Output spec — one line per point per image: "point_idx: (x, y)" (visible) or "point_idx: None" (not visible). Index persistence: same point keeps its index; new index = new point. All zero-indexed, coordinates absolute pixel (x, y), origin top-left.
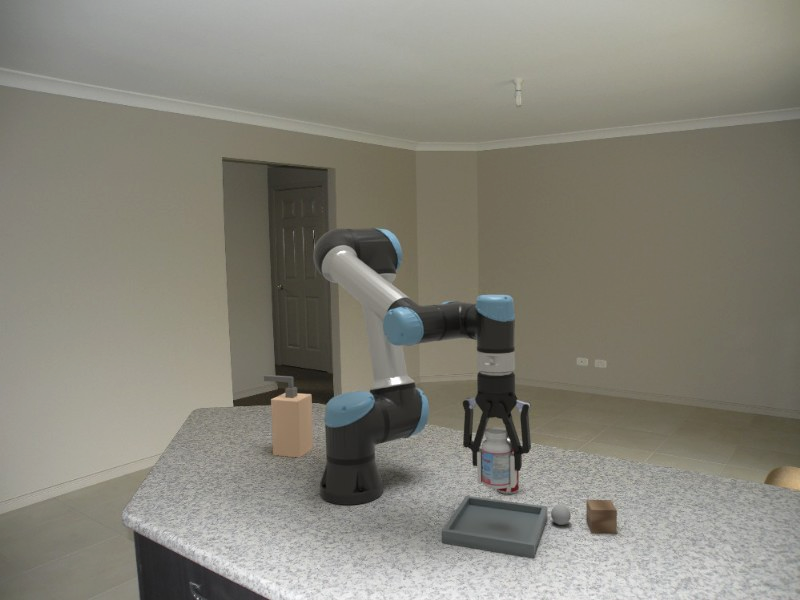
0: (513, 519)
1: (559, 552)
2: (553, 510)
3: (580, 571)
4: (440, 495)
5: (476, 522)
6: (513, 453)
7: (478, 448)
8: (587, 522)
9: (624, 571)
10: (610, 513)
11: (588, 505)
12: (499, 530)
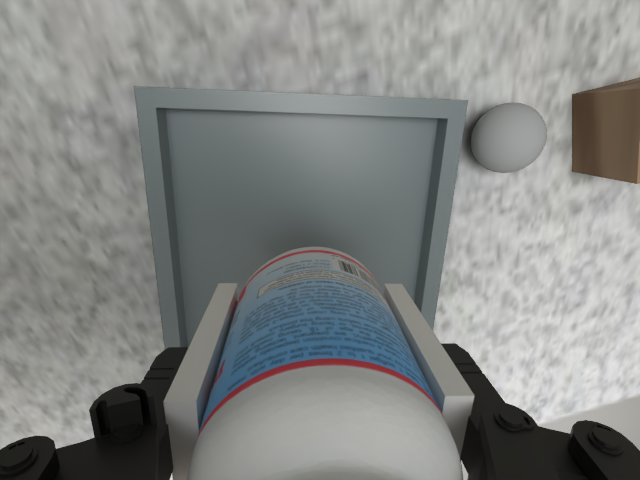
0: (347, 186)
1: (475, 304)
2: (491, 155)
3: (514, 366)
4: (2, 2)
5: (237, 244)
6: (451, 429)
7: (165, 474)
8: (577, 112)
9: (607, 338)
10: None
11: (633, 130)
12: None
